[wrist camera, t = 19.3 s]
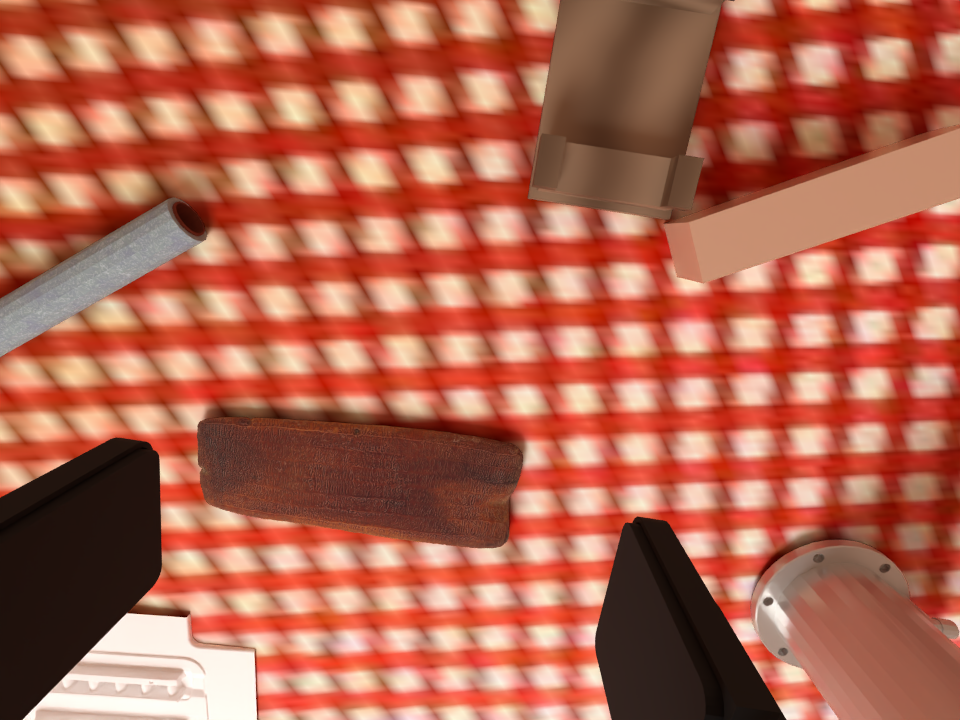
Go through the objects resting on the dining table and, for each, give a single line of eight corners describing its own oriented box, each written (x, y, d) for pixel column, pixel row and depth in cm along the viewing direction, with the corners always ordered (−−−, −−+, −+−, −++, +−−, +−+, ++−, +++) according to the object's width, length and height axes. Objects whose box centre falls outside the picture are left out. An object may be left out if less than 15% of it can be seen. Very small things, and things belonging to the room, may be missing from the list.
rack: (726, -40, 31) (764, -86, 26) (665, 219, 35) (689, 217, 30) (571, -65, 31) (583, -114, 26) (527, 198, 35) (531, 193, 30)
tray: (265, 775, 51) (247, 816, 47) (3, 748, 51) (-35, 787, 48) (258, 612, 46) (237, 644, 42) (-34, 584, 46) (-79, 614, 42)
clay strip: (929, 191, 34) (1001, 184, 29) (675, 276, 36) (703, 283, 31) (922, 133, 33) (995, 115, 28) (662, 224, 35) (688, 222, 30)
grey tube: (191, 197, 36) (160, 194, 33) (240, 278, 37) (216, 283, 34) (-35, 330, 39) (-84, 339, 36) (19, 400, 41) (-24, 415, 37)
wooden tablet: (524, 436, 39) (525, 445, 38) (509, 543, 42) (509, 555, 40) (199, 399, 39) (186, 406, 38) (203, 508, 42) (191, 519, 40)
